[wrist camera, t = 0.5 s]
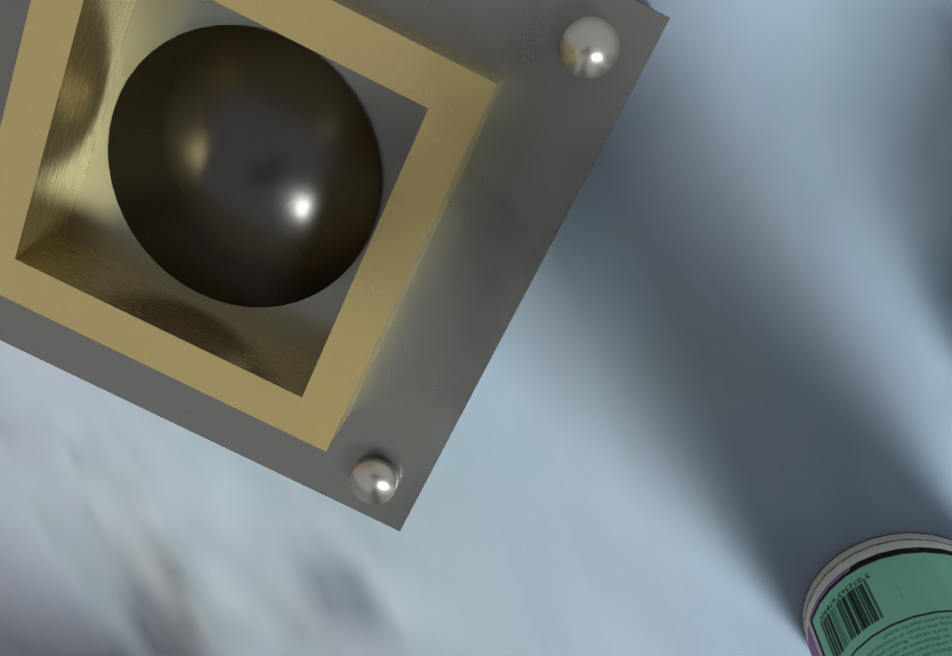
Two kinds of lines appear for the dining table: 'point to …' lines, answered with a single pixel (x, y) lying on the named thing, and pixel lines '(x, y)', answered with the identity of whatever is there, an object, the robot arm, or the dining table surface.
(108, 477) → the dining table surface
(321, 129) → the square socket fixture
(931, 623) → the spray can
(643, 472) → the dining table surface
